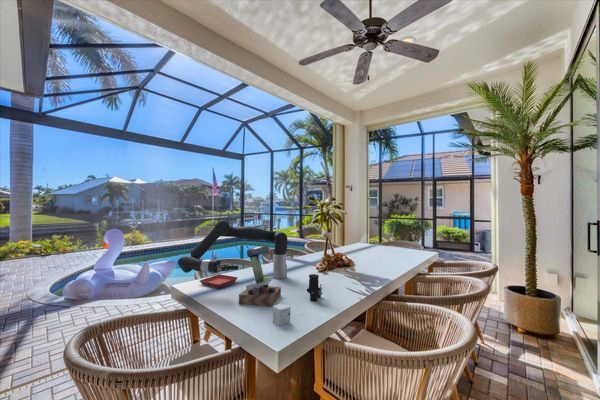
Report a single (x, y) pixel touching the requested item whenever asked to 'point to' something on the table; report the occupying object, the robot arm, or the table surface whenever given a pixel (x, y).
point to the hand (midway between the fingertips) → (238, 267)
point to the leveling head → (258, 267)
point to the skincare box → (281, 314)
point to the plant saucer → (218, 280)
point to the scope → (314, 288)
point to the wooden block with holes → (260, 296)
